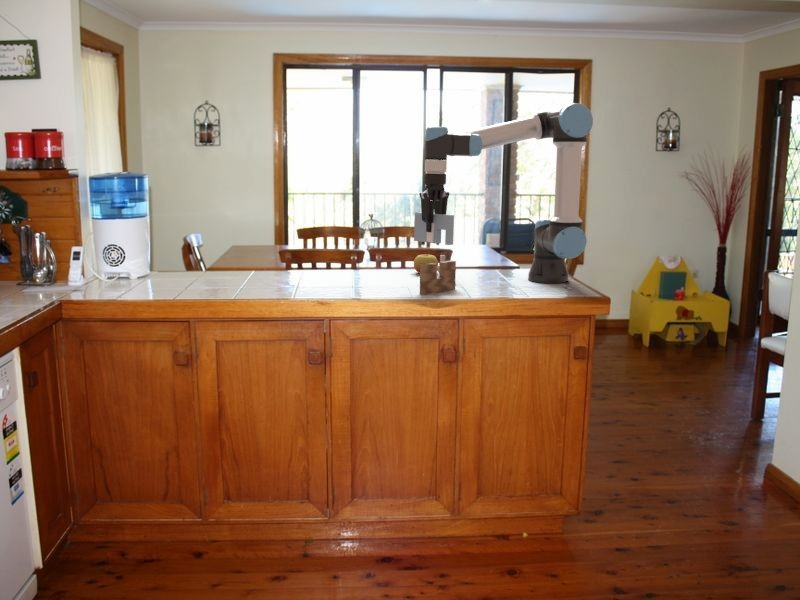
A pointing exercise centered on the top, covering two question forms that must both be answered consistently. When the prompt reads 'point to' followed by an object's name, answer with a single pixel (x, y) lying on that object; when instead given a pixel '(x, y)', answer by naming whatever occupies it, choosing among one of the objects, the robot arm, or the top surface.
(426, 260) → the apple
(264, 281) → the top surface
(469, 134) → the robot arm
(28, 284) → the top surface
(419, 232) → the grey notched arch block
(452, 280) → the notched wooden slab
